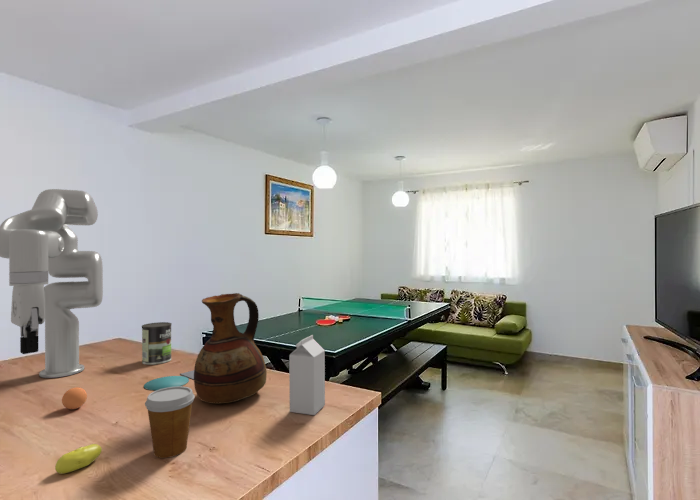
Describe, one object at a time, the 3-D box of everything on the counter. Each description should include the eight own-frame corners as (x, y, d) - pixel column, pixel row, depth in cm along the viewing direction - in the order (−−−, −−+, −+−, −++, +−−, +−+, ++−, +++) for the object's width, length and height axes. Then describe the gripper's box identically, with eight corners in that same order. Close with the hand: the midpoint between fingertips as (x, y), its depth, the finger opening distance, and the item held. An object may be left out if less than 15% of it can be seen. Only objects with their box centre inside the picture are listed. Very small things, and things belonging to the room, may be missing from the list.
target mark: (136, 384, 122) (136, 383, 122) (176, 373, 132) (176, 373, 132) (155, 393, 114) (155, 392, 114) (196, 381, 124) (196, 381, 124)
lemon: (51, 473, 73) (51, 453, 73) (97, 455, 80) (97, 436, 80) (59, 481, 71) (59, 459, 71) (106, 461, 77) (106, 442, 77)
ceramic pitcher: (182, 397, 111) (181, 293, 111) (243, 380, 126) (243, 288, 126) (215, 417, 98) (215, 299, 98) (280, 395, 112) (279, 292, 112)
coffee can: (177, 358, 152) (177, 322, 152) (159, 365, 142) (159, 327, 142) (154, 356, 154) (154, 321, 154) (135, 364, 144) (135, 326, 144)
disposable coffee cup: (156, 440, 86) (156, 386, 86) (200, 438, 86) (200, 384, 86) (136, 463, 76) (136, 403, 76) (186, 461, 77) (185, 401, 77)
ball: (58, 409, 103) (58, 388, 103) (82, 402, 107) (82, 383, 107) (65, 414, 99) (65, 393, 99) (90, 407, 104) (90, 387, 104)
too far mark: (180, 374, 132) (180, 373, 132) (206, 367, 139) (206, 366, 139) (195, 380, 125) (195, 379, 125) (222, 372, 133) (222, 372, 133)
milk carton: (325, 405, 104) (324, 335, 105) (314, 416, 98) (313, 341, 98) (301, 402, 107) (301, 333, 107) (289, 412, 100) (289, 339, 100)
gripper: (2, 278, 98) (2, 351, 98) (17, 281, 88) (17, 361, 88) (39, 277, 104) (39, 345, 103) (57, 279, 94) (57, 354, 94)
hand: (29, 352), depth 96 cm, fingers closed
